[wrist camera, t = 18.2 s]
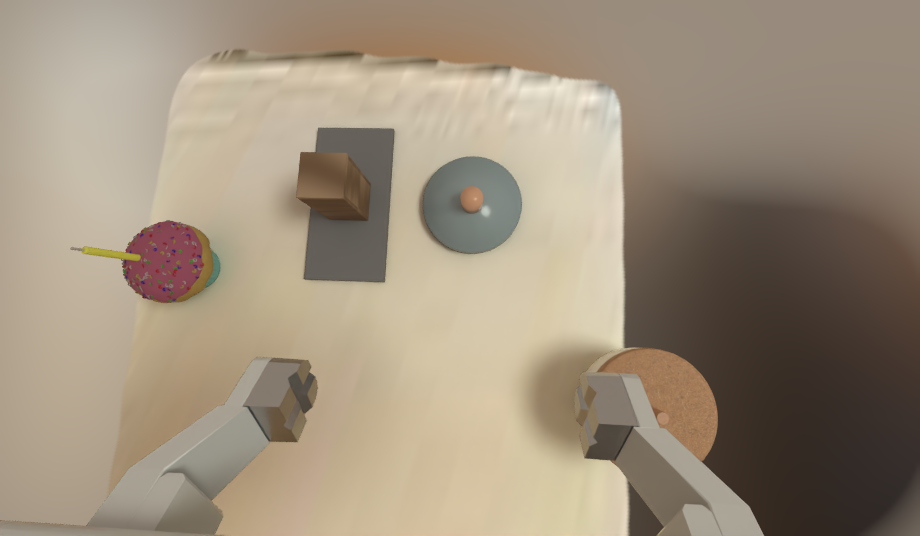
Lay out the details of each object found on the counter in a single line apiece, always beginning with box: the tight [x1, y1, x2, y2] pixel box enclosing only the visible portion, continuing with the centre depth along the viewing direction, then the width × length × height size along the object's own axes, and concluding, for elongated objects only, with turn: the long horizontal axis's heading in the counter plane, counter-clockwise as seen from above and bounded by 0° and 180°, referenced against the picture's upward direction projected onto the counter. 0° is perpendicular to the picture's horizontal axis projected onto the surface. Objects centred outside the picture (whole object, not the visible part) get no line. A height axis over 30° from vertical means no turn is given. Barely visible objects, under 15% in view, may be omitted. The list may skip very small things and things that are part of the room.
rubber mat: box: [304, 128, 394, 282], centre depth 42 cm, size 18×9×1 cm, turn 178°
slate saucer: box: [423, 157, 522, 254], centre depth 40 cm, size 11×11×3 cm
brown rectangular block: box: [296, 152, 371, 221], centre depth 38 cm, size 4×4×8 cm
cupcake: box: [71, 220, 220, 303], centre depth 37 cm, size 9×8×12 cm
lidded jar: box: [586, 348, 718, 467], centre depth 34 cm, size 11×11×9 cm
